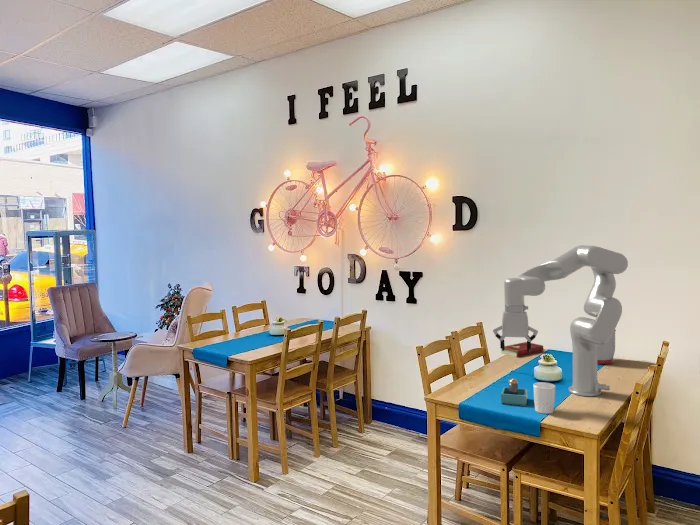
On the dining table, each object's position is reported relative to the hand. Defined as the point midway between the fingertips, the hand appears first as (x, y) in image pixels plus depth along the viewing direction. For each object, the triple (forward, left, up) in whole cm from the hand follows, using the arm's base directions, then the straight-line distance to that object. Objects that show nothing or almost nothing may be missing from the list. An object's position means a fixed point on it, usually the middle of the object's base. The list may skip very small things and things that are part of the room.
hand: (515, 350), depth 213 cm
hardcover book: (+3, -83, -21) cm, 86 cm away
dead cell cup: (+1, +1, -21) cm, 21 cm away
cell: (+1, +1, -20) cm, 20 cm away
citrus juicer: (-34, -72, -21) cm, 82 cm away
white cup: (-11, +9, -21) cm, 25 cm away
